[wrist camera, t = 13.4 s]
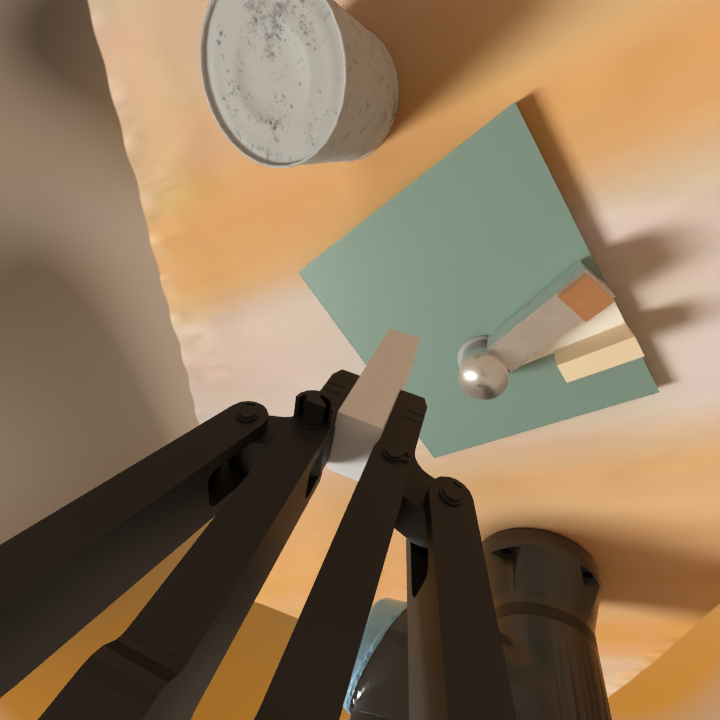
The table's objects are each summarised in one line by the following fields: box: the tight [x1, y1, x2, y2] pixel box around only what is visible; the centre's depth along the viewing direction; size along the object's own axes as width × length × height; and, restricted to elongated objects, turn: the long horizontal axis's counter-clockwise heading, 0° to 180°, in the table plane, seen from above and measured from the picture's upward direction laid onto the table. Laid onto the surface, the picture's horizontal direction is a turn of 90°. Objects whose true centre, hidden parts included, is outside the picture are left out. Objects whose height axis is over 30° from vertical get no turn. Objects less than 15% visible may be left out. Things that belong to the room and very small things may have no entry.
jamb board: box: [298, 102, 659, 458], centre depth 36 cm, size 28×24×4 cm
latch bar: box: [458, 260, 616, 400], centre depth 32 cm, size 14×4×4 cm, turn 145°
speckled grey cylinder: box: [200, 0, 399, 168], centre depth 26 cm, size 10×10×12 cm
